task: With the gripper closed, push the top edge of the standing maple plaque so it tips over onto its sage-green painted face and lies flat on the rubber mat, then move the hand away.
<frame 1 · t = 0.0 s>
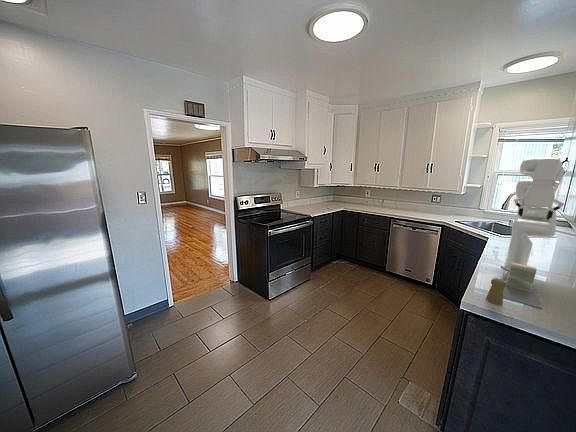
hand: (533, 217, 117), 37 cm above the worktop, fingers open, 9 cm apart
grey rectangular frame: (515, 280, 130), on the worktop
cork: (494, 301, 108), on the worktop
maple plaque: (517, 287, 120), resting on rubber mat
rubber mat: (518, 293, 115), on the worktop
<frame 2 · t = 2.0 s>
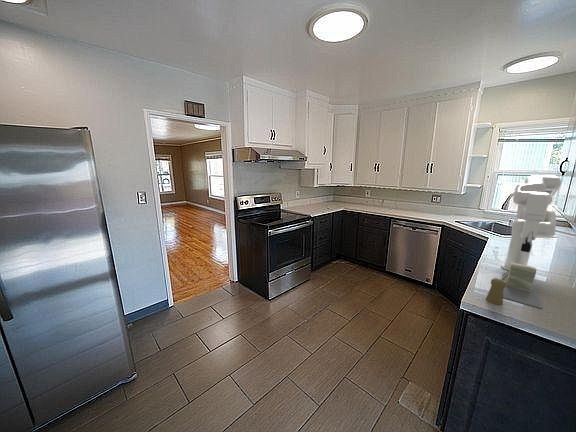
hand: (524, 251, 121), 18 cm above the worktop, fingers closed
nothing on the worktop moved.
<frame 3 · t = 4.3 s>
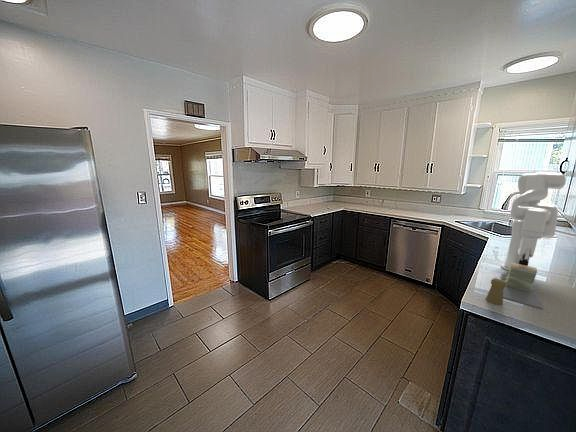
hand: (522, 267, 119), 11 cm above the worktop, fingers closed
maple plaque: (517, 286, 120), point 1 cm above the worktop, tilted 10°, touching rubber mat
everything else where it was.
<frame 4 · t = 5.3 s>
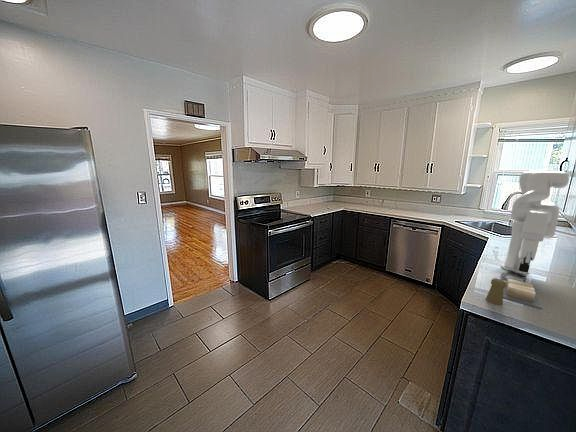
hand: (523, 271, 115), 11 cm above the worktop, fingers closed
maple plaque: (519, 284, 118), point 3 cm above the worktop, tilted 90°, touching rubber mat
everything else where it was.
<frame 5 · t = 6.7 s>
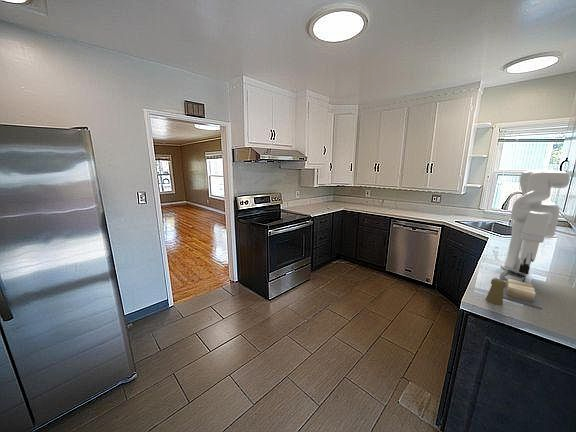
hand: (523, 272, 114), 11 cm above the worktop, fingers closed
nothing on the worktop moved.
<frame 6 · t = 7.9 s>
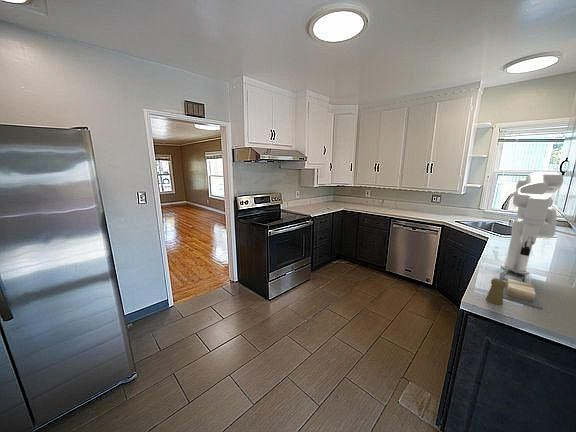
hand: (524, 254, 121), 17 cm above the worktop, fingers closed
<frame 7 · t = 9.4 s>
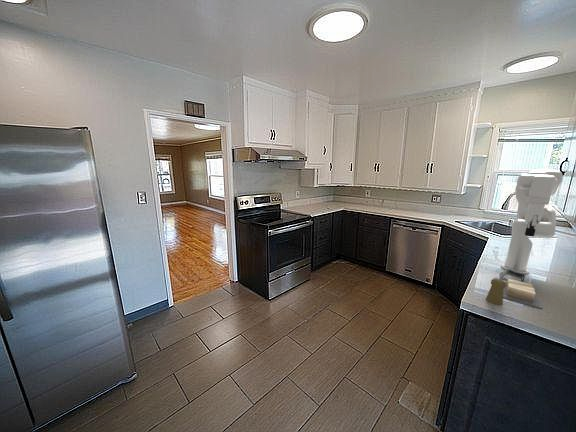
hand: (529, 235, 119), 27 cm above the worktop, fingers closed
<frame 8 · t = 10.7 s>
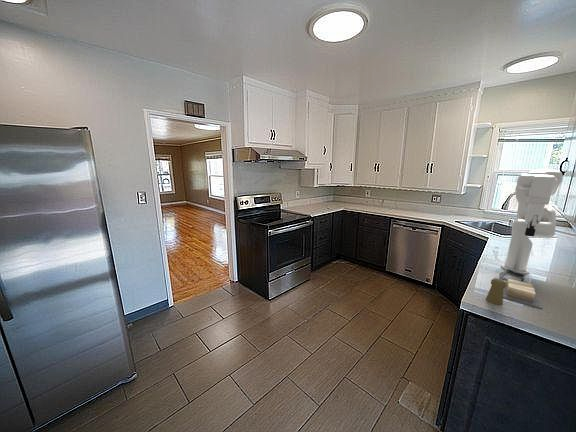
hand: (529, 235, 119), 27 cm above the worktop, fingers closed
at the end: maple plaque tilted 90°; maple plaque inside the target area (3.8 cm from its centre), point 2.8 cm above the worktop; maple plaque touching rubber mat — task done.
